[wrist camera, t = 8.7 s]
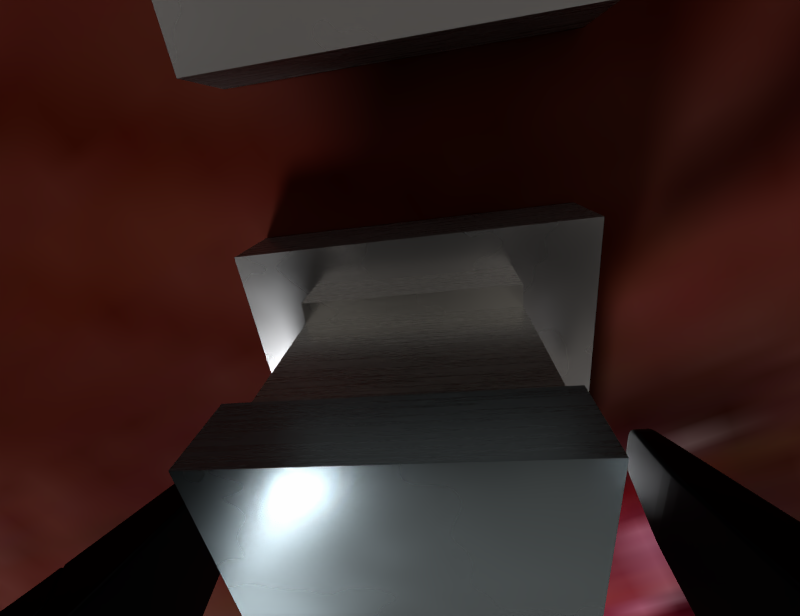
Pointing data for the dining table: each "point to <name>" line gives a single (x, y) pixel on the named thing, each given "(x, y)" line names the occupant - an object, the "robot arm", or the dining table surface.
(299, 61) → the stand
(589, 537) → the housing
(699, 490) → the robot arm
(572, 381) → the stand
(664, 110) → the dining table surface
